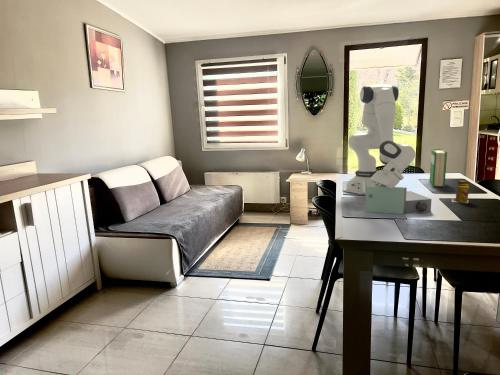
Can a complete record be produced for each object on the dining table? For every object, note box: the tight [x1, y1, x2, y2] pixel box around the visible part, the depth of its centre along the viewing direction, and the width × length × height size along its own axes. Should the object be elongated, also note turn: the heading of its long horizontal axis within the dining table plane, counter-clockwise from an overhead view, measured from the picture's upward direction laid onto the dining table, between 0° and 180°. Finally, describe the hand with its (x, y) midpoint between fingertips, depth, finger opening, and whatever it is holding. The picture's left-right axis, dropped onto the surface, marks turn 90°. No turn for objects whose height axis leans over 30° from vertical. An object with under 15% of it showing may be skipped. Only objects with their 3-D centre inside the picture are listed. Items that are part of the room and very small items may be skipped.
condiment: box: [451, 179, 470, 204], centre depth 213 cm, size 7×8×12 cm
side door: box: [364, 186, 408, 215], centre depth 195 cm, size 20×2×14 cm, turn 67°
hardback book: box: [429, 148, 448, 188], centre depth 257 cm, size 18×7×24 cm, turn 161°
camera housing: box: [404, 190, 433, 215], centre depth 202 cm, size 22×14×7 cm, turn 8°
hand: (373, 190), depth 199 cm, fingers closed
